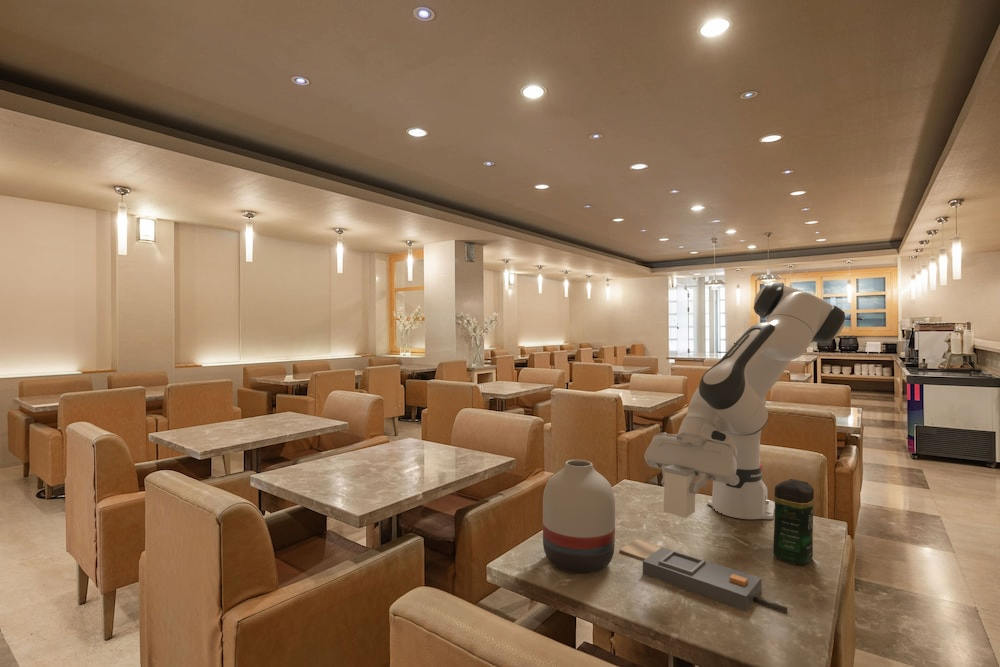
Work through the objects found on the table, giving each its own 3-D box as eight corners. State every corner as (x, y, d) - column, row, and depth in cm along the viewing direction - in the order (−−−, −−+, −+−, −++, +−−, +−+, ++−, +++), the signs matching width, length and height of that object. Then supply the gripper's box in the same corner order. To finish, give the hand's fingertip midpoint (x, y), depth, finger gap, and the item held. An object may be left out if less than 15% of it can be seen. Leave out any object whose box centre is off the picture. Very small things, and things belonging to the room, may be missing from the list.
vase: (599, 587, 108) (600, 477, 108) (530, 567, 117) (530, 465, 117) (624, 557, 123) (624, 460, 123) (560, 541, 132) (561, 451, 131)
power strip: (661, 559, 121) (662, 543, 121) (793, 602, 103) (793, 584, 103) (642, 574, 114) (642, 557, 114) (780, 623, 95) (780, 603, 95)
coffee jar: (806, 570, 117) (807, 490, 116) (769, 558, 122) (770, 482, 122) (817, 556, 124) (817, 481, 123) (781, 546, 129) (782, 474, 129)
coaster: (636, 541, 132) (636, 538, 132) (669, 551, 126) (669, 549, 126) (619, 552, 125) (619, 549, 125) (653, 563, 119) (653, 561, 119)
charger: (673, 506, 117) (674, 463, 117) (694, 511, 114) (695, 467, 113) (663, 511, 113) (664, 467, 113) (685, 517, 110) (686, 472, 110)
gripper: (652, 423, 125) (631, 471, 118) (738, 437, 111) (721, 491, 104) (659, 439, 129) (640, 485, 122) (744, 454, 115) (728, 507, 108)
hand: (678, 488), depth 113 cm, fingers closed on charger, 5 cm apart
